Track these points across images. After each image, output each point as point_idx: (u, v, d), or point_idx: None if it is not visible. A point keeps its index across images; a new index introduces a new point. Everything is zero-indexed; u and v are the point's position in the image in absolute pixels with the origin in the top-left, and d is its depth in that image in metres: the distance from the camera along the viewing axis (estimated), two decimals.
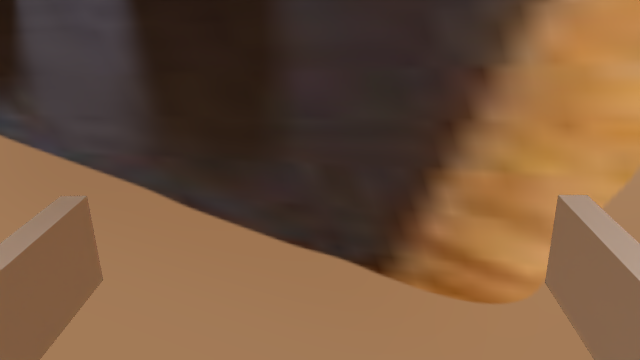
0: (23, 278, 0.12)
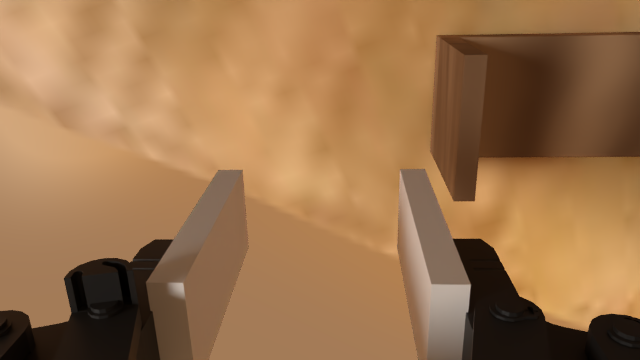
0: (220, 237, 0.14)
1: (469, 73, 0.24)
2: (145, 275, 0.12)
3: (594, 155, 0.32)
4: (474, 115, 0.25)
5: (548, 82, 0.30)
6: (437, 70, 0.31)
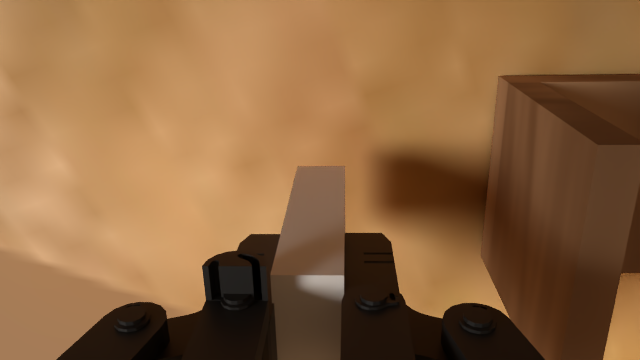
0: None
1: (604, 180, 0.11)
2: None
3: None
4: (607, 260, 0.12)
5: None
6: (500, 135, 0.18)
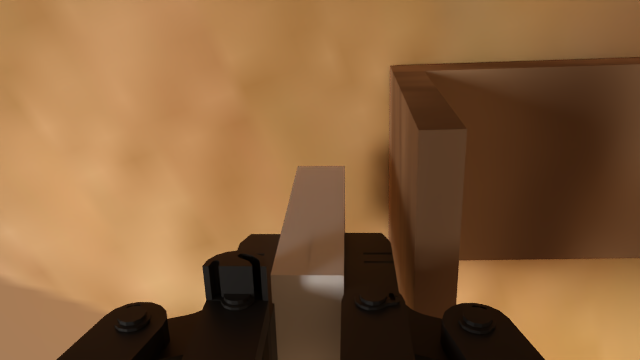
0: None
1: (430, 165, 0.12)
2: None
3: None
4: (444, 245, 0.12)
5: (579, 143, 0.18)
6: (391, 124, 0.18)
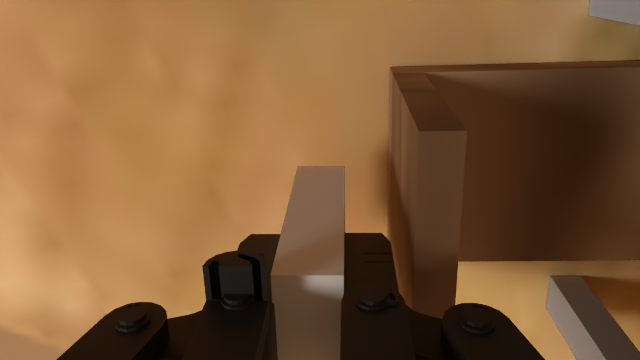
0: None
1: (430, 166, 0.12)
2: None
3: None
4: (443, 246, 0.12)
5: (578, 145, 0.18)
6: (391, 125, 0.18)
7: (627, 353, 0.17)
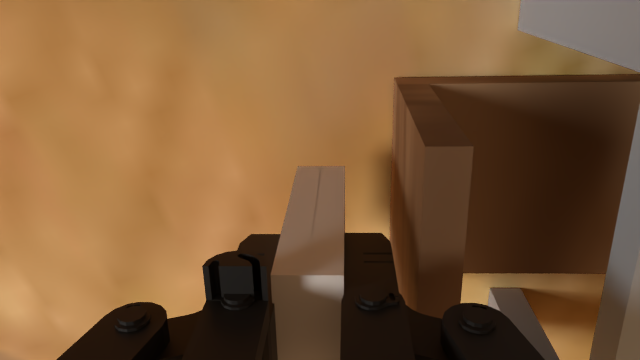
0: None
1: (436, 182, 0.12)
2: None
3: None
4: (448, 261, 0.12)
5: (582, 159, 0.18)
6: (394, 136, 0.18)
7: None
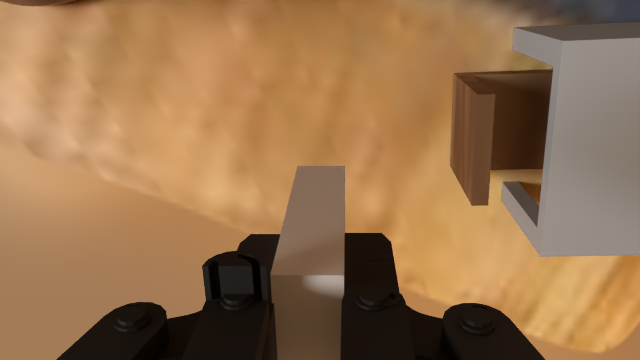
0: None
1: (481, 108, 0.32)
2: None
3: None
4: (486, 139, 0.32)
5: (544, 109, 0.38)
6: (454, 101, 0.38)
7: (531, 205, 0.37)
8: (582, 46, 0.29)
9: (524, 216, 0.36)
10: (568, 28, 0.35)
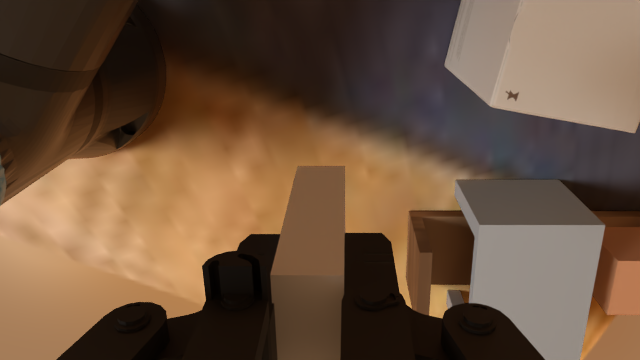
0: None
1: (422, 261, 0.42)
2: None
3: None
4: (426, 282, 0.43)
5: None
6: (409, 233, 0.49)
7: None
8: (493, 229, 0.39)
9: None
10: (494, 190, 0.46)
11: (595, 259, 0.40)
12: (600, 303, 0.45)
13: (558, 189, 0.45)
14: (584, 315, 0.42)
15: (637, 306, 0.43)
